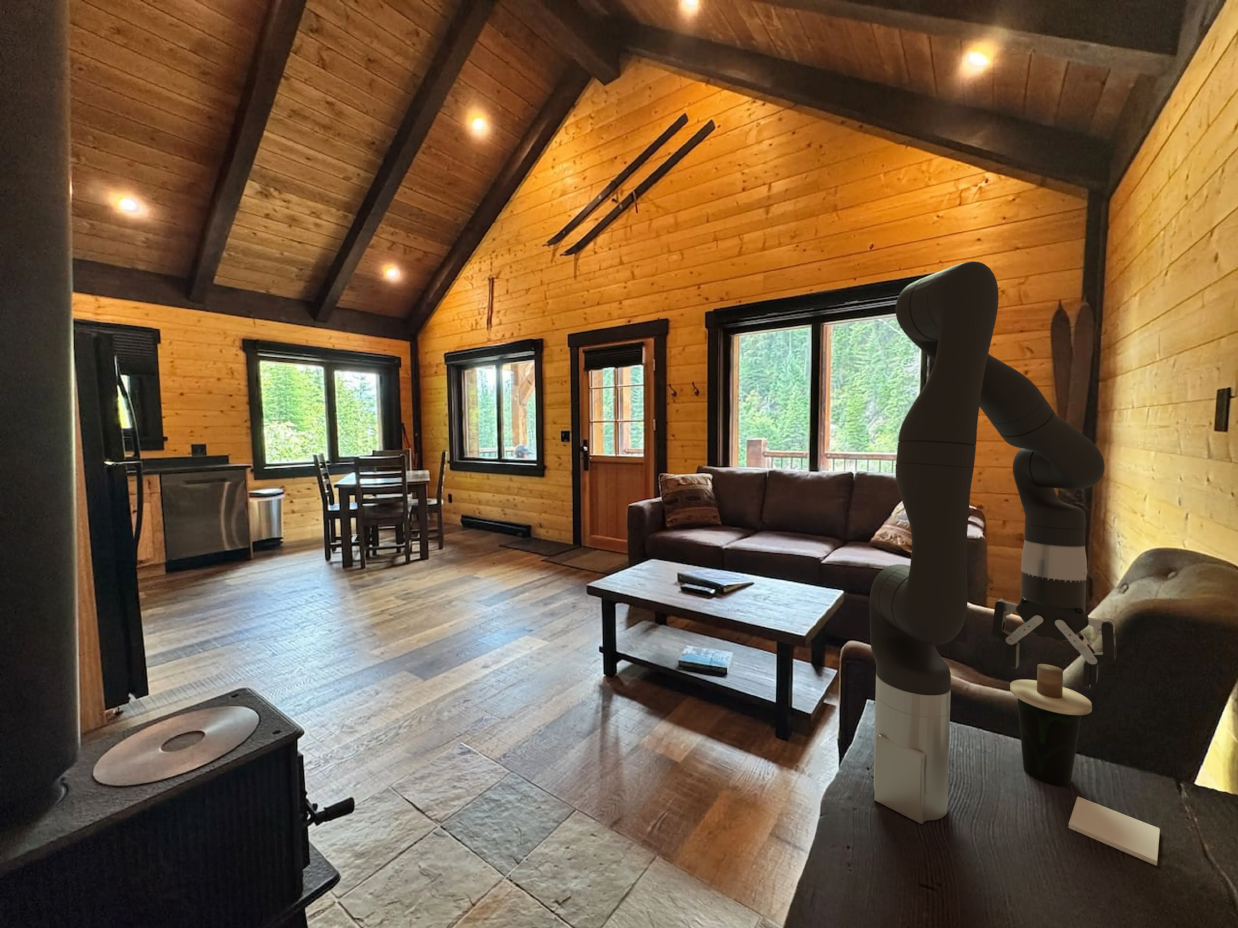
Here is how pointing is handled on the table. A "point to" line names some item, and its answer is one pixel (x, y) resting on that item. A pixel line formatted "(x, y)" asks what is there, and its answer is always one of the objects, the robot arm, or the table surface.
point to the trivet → (1116, 830)
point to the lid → (1050, 692)
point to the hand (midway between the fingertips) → (1049, 676)
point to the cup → (1048, 744)
